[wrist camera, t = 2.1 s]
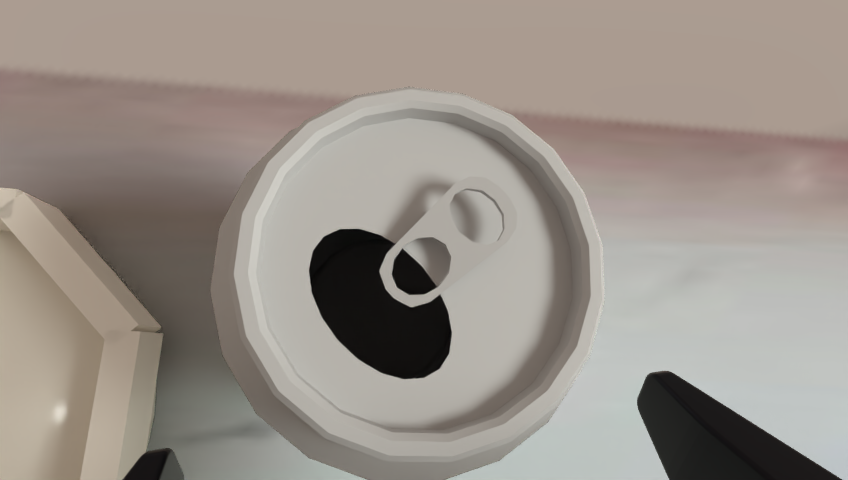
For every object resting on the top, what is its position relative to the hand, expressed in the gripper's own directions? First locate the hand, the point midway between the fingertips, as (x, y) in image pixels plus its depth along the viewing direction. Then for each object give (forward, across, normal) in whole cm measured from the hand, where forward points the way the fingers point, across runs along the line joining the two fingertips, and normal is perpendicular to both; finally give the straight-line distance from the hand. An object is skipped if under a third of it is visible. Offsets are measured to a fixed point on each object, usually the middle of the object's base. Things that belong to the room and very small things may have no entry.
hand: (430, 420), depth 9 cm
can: (+9, 0, +5) cm, 11 cm away
